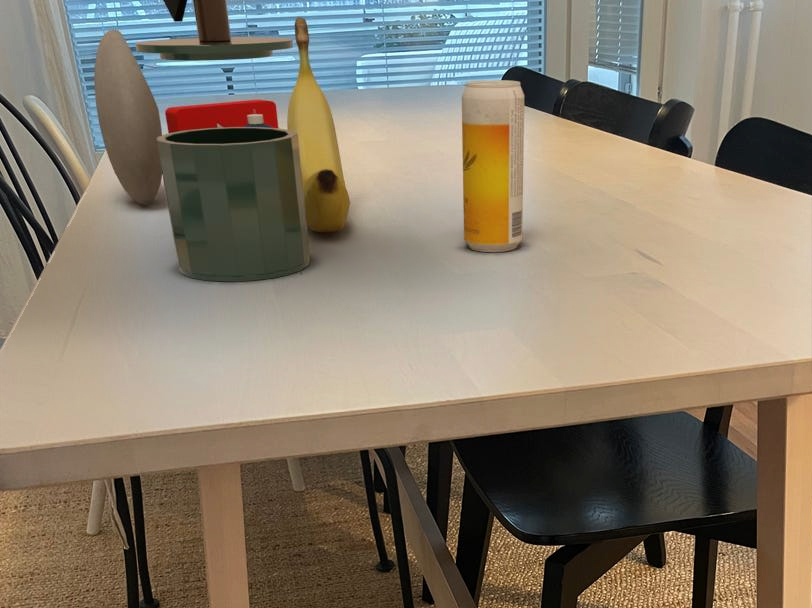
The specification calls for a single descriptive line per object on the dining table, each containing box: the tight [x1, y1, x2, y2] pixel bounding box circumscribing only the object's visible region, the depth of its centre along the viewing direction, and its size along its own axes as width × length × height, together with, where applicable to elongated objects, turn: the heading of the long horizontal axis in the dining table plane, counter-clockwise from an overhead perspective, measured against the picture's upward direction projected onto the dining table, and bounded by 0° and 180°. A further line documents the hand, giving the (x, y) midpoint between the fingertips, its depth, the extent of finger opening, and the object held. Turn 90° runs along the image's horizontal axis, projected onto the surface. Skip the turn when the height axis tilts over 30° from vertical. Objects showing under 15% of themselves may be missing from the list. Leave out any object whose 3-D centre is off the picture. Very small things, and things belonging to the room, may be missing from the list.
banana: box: [286, 16, 351, 233], centre depth 107 cm, size 23×6×20 cm, turn 12°
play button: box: [164, 99, 279, 134], centre depth 132 cm, size 15×3×10 cm, turn 133°
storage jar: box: [156, 127, 311, 283], centre depth 94 cm, size 13×13×12 cm
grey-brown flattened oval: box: [93, 29, 163, 205], centre depth 120 cm, size 18×7×19 cm, turn 21°
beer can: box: [461, 79, 525, 253], centre depth 99 cm, size 6×6×15 cm
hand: (189, 7), depth 87 cm, fingers closed on jar lid, 3 cm apart
